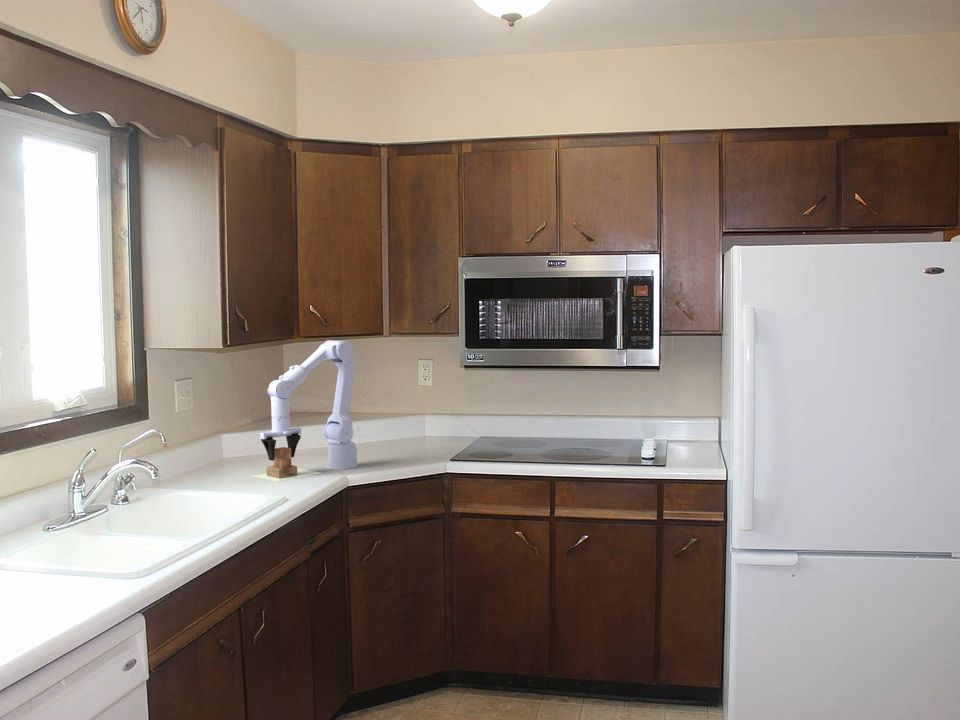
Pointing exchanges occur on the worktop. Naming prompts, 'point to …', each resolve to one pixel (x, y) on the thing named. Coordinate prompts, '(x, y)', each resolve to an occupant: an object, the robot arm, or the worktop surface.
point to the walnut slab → (281, 471)
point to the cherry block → (282, 457)
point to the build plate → (299, 474)
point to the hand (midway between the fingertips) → (281, 458)
